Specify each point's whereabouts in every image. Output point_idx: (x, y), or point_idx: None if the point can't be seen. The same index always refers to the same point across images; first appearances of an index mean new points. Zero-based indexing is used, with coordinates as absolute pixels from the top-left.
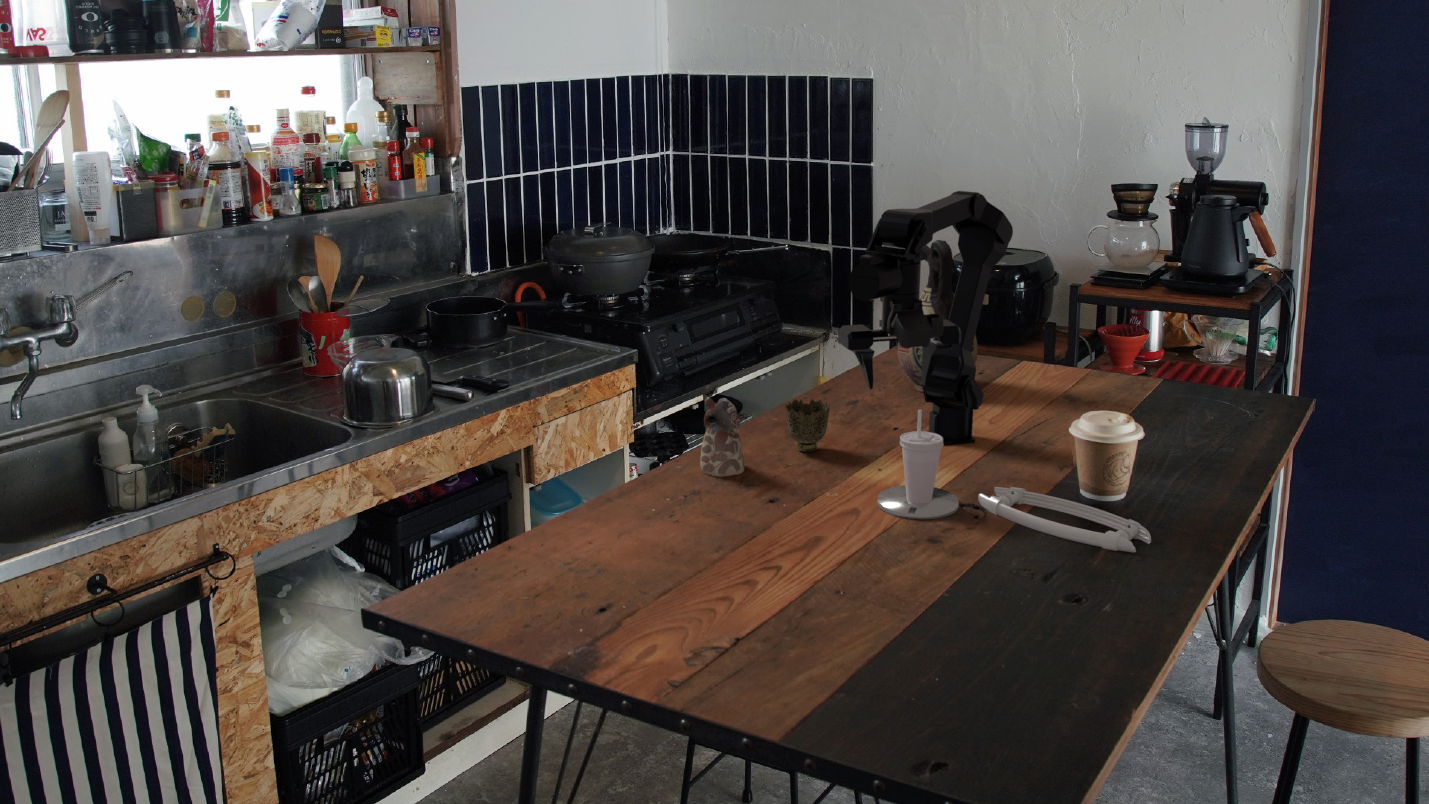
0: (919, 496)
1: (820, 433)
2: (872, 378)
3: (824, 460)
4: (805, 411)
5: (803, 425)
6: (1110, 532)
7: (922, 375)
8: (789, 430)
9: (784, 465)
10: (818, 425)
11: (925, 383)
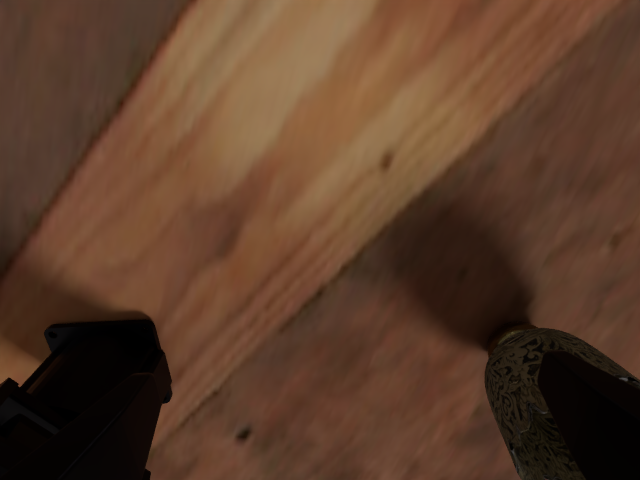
0: None
1: (526, 342)
2: (622, 404)
3: (503, 262)
4: (542, 453)
5: (605, 357)
6: None
7: (139, 466)
8: None
9: (622, 244)
10: None
11: (141, 381)
